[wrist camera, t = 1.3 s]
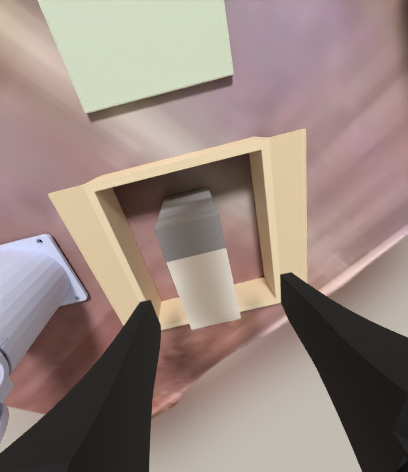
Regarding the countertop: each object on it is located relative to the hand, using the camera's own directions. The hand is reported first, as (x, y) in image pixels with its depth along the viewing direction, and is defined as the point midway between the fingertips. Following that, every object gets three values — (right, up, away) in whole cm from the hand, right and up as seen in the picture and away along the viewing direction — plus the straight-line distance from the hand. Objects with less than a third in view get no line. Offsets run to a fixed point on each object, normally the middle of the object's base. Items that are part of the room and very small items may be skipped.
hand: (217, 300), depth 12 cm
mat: (-5, +18, +2) cm, 19 cm away
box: (-1, +4, +9) cm, 10 cm away
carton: (-1, +4, +9) cm, 10 cm away
